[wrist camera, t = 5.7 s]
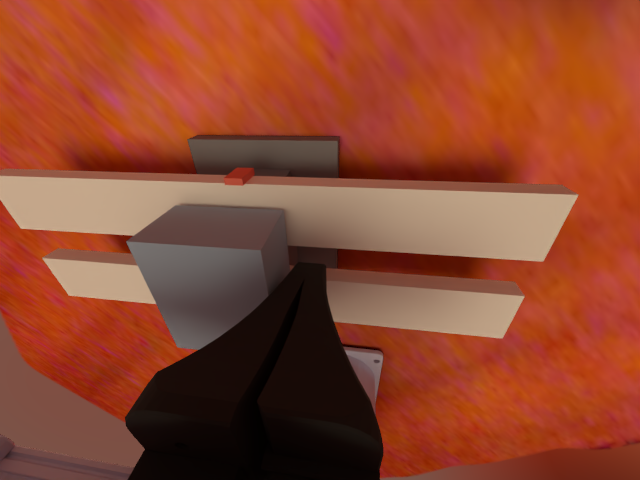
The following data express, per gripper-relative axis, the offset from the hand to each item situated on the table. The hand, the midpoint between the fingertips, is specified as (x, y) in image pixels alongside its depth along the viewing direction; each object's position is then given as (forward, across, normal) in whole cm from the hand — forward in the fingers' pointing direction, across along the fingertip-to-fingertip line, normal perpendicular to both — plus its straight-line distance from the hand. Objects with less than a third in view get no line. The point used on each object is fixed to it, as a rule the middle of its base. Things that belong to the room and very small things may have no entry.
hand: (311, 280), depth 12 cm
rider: (+2, +4, 0) cm, 4 cm away
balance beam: (+6, +3, 0) cm, 7 cm away
